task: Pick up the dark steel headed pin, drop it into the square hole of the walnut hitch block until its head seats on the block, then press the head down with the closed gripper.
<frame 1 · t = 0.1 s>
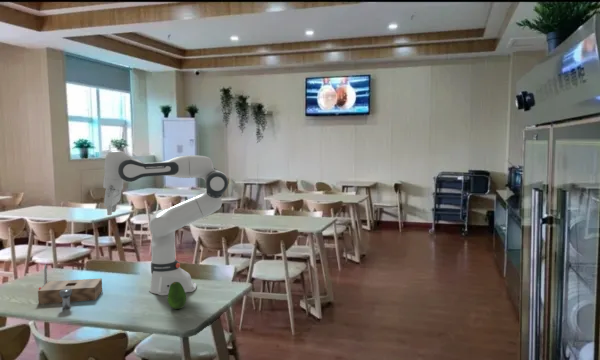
hand: (111, 213, 218), 39 cm above the table, tool pointing down, fingers open, 8 cm apart
avocado: (177, 309, 200), on the table
hitch block: (71, 296, 216), on the table
tow hook: (51, 288, 229), on the table
steel pin: (66, 307, 202), on the table
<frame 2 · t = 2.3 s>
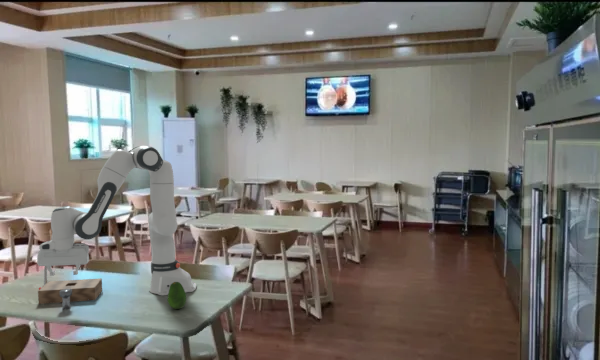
hand: (64, 274, 200), 15 cm above the table, tool pointing down, fingers open, 8 cm apart
nothing on the table moved.
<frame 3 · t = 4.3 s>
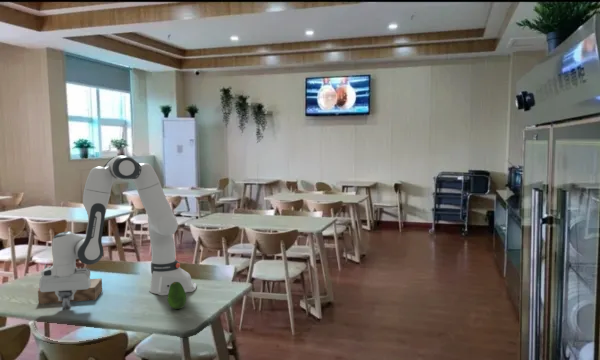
hand: (66, 299, 201), 4 cm above the table, tool pointing down, fingers closed on steel pin, 3 cm apart
steel pin: (66, 307, 202), on the table, touching gripper
everything else where it was.
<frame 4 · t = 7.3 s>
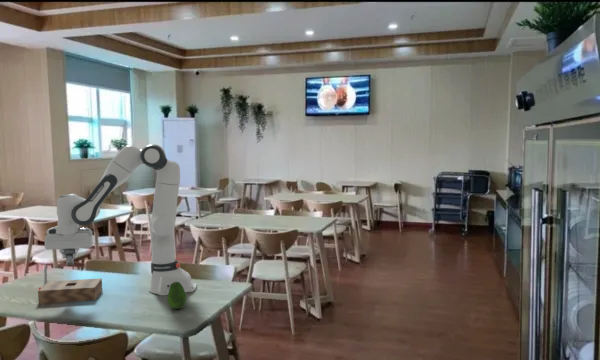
hand: (69, 257, 214), 19 cm above the table, tool pointing down, fingers closed on steel pin, 3 cm apart
steel pin: (70, 265, 214), point 15 cm above the table, touching gripper
everything else where it was.
when the fingers open (8 cm above the table, at t = 10.6 s): steel pin stays where it is, resting on hitch block.
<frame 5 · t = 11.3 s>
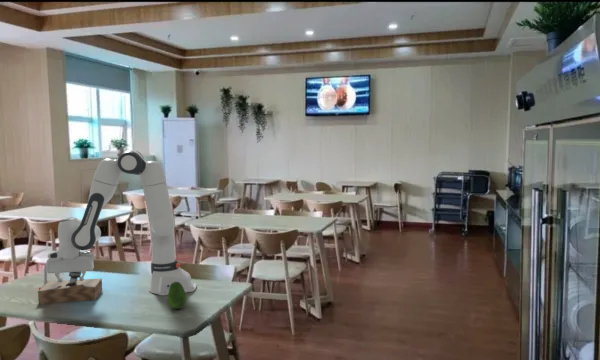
hand: (71, 281, 215), 8 cm above the table, tool pointing down, fingers open, 8 cm apart
steel pin: (71, 287, 215), point 4 cm above the table, tilted 16°, touching gripper, hitch block
everything else where it was.
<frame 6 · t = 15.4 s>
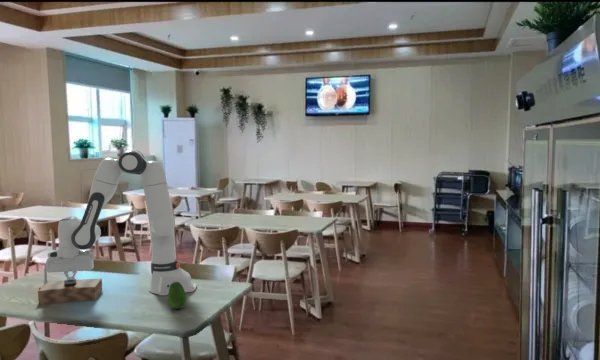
hand: (70, 280, 215), 8 cm above the table, tool pointing down, fingers closed, pressing on steel pin
steel pin: (70, 296, 216), resting on hitch block, touching gripper
everything else where it was.
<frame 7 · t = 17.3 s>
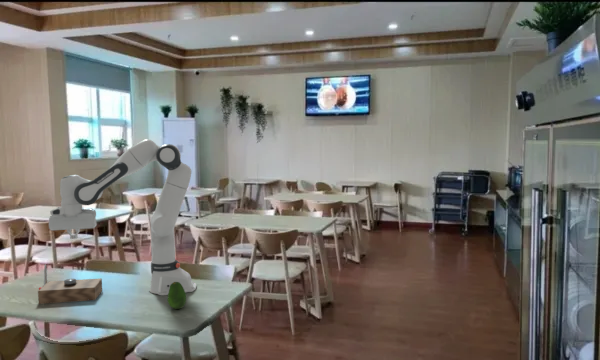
hand: (74, 238, 216), 28 cm above the table, tool pointing down, fingers closed
steel pin: (70, 296, 216), resting on hitch block
everything else where it was.
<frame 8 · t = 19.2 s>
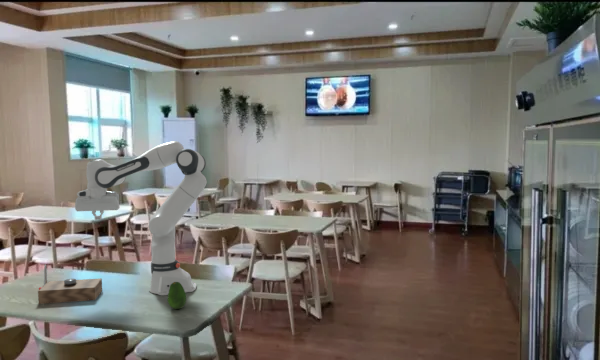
hand: (98, 219, 228), 34 cm above the table, tool pointing down, fingers closed
nothing on the table moved.
at the end: steel pin 0.4 cm off-centre on the hitch block, point 0.2 cm above the hitch block's base; steel pin tilted 0°; the gripper is holding nothing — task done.
